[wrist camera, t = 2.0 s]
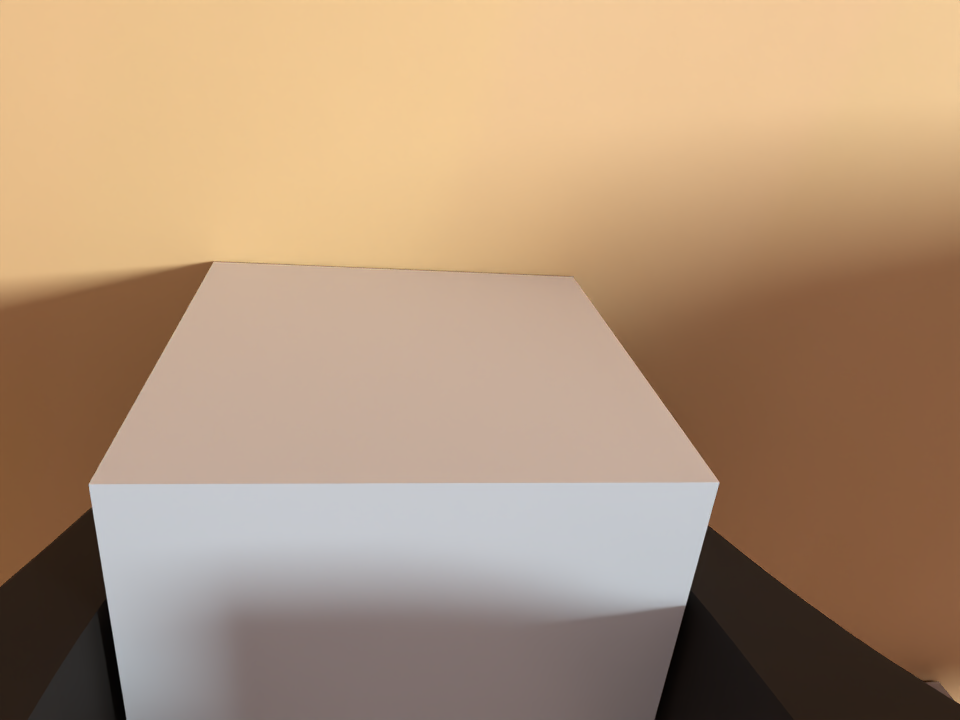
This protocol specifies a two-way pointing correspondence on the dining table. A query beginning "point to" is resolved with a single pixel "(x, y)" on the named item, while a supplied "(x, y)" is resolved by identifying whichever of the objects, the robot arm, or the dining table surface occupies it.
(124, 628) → the tall white block
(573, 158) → the dining table surface
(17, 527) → the dining table surface
